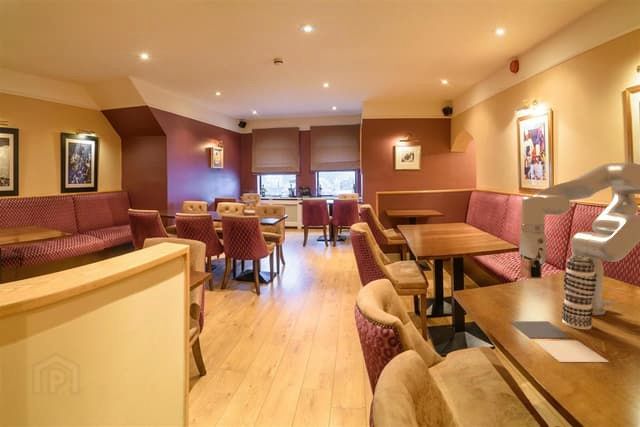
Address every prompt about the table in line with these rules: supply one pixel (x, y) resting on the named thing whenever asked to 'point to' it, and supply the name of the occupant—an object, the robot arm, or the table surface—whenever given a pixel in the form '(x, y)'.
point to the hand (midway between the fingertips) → (530, 273)
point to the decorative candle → (579, 292)
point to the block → (527, 268)
